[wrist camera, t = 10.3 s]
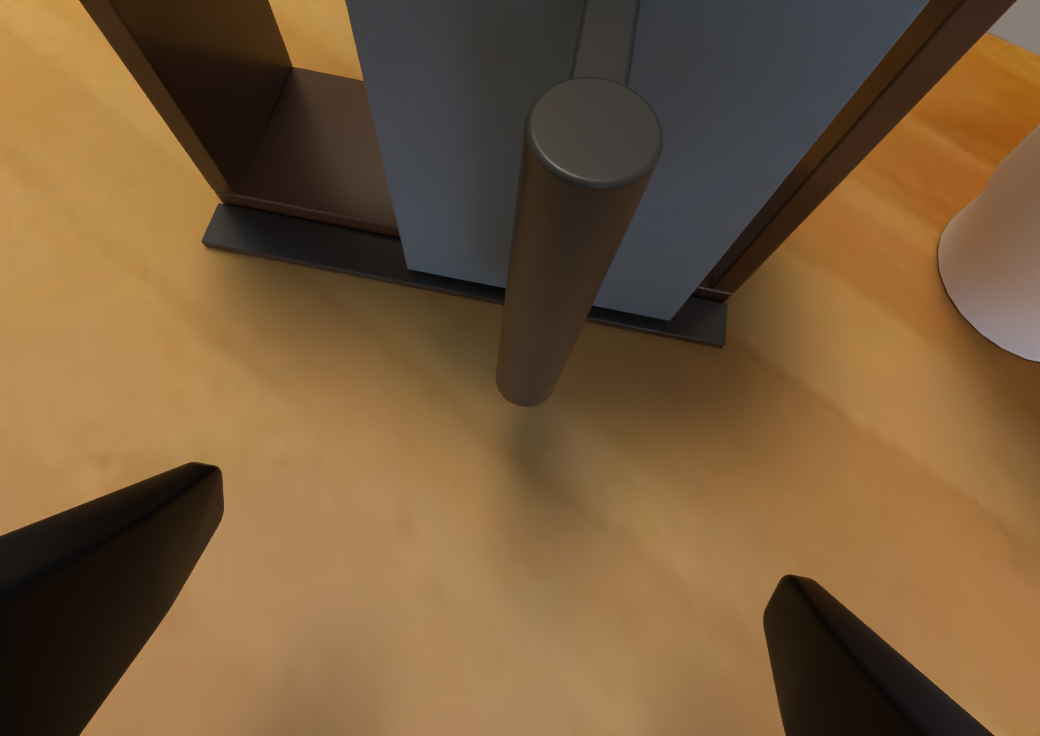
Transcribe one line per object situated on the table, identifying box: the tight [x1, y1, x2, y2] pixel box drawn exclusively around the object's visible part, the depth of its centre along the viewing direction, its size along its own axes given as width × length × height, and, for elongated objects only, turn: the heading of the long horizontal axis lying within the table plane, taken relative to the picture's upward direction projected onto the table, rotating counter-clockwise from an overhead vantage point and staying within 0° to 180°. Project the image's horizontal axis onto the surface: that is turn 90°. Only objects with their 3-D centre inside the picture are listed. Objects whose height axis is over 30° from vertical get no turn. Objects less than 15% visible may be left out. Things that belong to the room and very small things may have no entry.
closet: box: [79, 0, 1016, 348], centre depth 14 cm, size 8×18×13 cm, turn 80°
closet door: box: [345, 0, 930, 407], centre depth 12 cm, size 6×9×12 cm, turn 80°
